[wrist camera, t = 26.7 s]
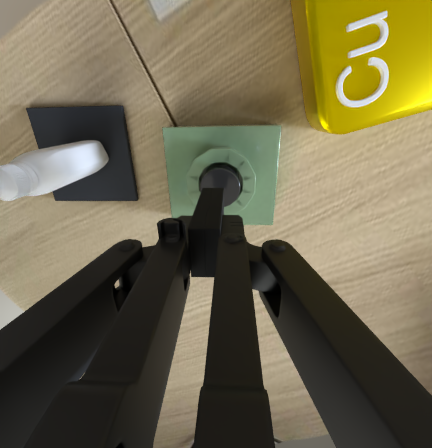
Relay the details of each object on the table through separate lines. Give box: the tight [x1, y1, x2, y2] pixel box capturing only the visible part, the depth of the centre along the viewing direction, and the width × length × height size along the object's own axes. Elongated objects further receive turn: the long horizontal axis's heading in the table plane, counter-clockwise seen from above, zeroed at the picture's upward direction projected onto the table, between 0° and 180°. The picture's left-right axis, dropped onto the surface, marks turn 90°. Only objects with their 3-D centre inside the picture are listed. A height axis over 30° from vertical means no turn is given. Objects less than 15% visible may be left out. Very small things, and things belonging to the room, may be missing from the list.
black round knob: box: [200, 165, 240, 207], centre depth 22 cm, size 4×4×2 cm
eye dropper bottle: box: [0, 140, 109, 201], centre depth 21 cm, size 4×6×12 cm
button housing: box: [162, 124, 281, 225], centre depth 25 cm, size 11×10×4 cm
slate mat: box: [26, 106, 138, 201], centre depth 27 cm, size 10×10×1 cm
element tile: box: [291, 0, 432, 134], centre depth 18 cm, size 15×15×5 cm
